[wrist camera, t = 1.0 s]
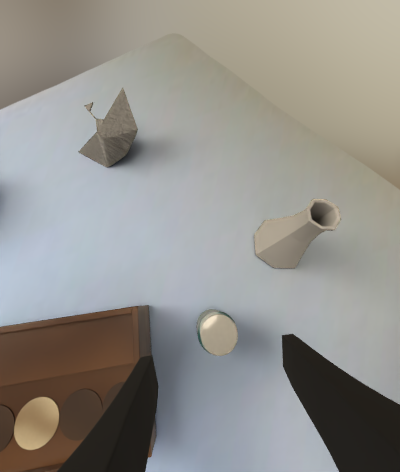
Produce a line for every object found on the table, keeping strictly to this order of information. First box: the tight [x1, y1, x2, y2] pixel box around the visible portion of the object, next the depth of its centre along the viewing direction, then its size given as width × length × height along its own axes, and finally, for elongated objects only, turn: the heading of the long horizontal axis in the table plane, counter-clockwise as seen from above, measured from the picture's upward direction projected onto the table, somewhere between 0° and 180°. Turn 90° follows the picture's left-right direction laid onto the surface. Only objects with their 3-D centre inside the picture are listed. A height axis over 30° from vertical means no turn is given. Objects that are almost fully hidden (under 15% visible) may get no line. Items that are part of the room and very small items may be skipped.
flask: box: [254, 199, 341, 268], centre depth 23 cm, size 7×7×10 cm
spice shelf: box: [0, 305, 156, 472], centre depth 19 cm, size 13×17×5 cm
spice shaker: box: [196, 309, 238, 356], centre depth 21 cm, size 4×4×6 cm
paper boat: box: [79, 88, 138, 167], centre depth 29 cm, size 12×6×9 cm
